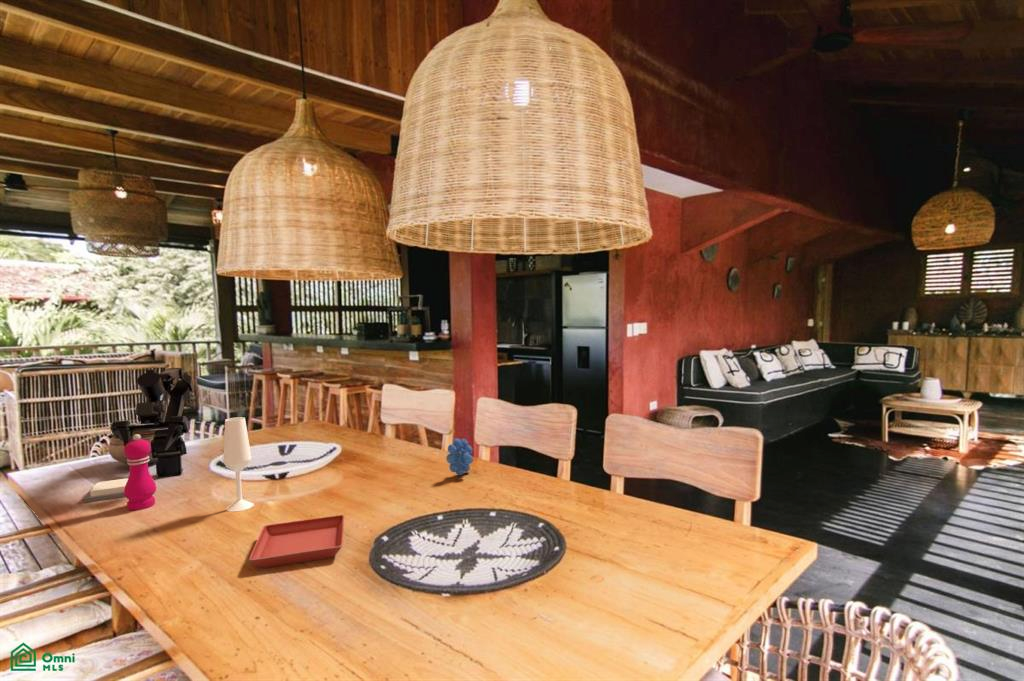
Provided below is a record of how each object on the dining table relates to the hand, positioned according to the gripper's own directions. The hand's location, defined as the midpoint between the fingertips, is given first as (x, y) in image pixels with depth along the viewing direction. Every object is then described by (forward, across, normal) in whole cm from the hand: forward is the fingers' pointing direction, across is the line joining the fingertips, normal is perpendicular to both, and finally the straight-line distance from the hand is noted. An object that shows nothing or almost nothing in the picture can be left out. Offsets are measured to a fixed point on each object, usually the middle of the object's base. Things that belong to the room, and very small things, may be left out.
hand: (146, 451), depth 150 cm
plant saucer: (+46, +43, -26) cm, 68 cm away
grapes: (+22, +88, -2) cm, 91 cm away
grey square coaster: (+3, -11, +16) cm, 19 cm away
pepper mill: (+14, 0, +5) cm, 15 cm away
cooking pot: (-20, -13, +39) cm, 46 cm away
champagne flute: (+23, +26, -4) cm, 35 cm away
